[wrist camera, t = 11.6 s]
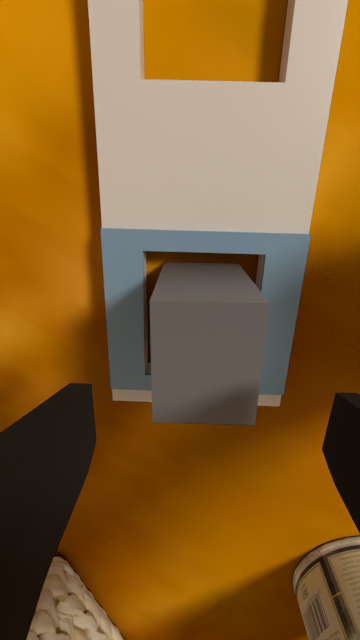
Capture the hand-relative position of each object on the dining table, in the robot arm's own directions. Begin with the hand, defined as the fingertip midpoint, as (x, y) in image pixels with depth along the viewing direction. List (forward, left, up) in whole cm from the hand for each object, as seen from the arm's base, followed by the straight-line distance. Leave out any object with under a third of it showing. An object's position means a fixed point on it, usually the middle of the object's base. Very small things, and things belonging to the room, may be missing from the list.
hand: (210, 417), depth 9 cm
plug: (0, 0, -10) cm, 10 cm away
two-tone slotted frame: (0, -7, -9) cm, 12 cm away
